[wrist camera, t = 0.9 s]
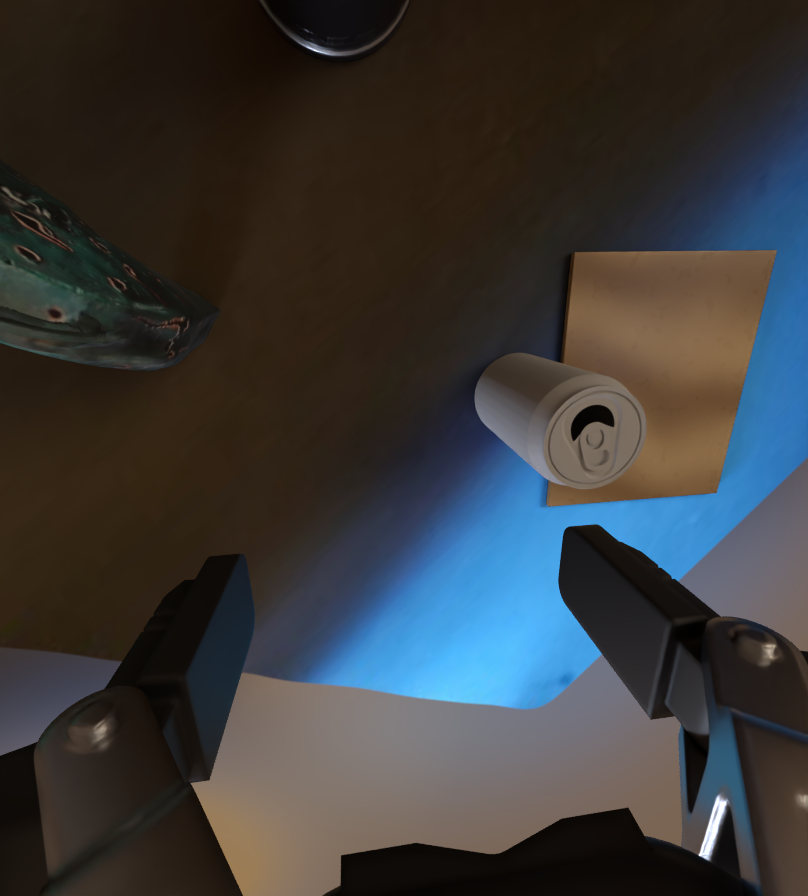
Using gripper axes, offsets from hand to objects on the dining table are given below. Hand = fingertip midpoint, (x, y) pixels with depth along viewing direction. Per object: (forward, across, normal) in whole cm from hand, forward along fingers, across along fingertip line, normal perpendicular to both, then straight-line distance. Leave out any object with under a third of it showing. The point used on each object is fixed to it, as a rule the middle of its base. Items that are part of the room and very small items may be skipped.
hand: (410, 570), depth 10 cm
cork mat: (+22, -23, 0) cm, 32 cm away
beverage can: (+22, -11, 0) cm, 25 cm away
